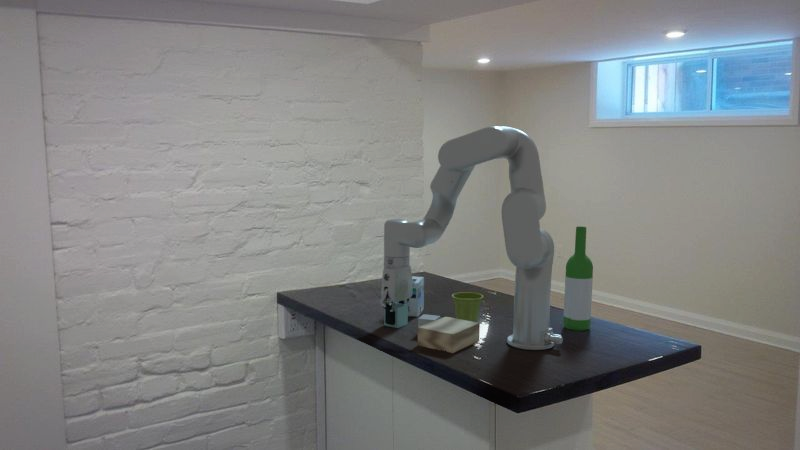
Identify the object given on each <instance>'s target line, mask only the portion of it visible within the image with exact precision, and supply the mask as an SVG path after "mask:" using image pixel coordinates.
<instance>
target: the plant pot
mask: <svg viewBox="0 0 800 450" xmlns="http://www.w3.org/2000/svg"><path fill="white" fill-rule="evenodd" d="M451 298H452V300H453V303H454V310H455V318H456V319H461V320H467V321H472V322H477V323H479V322H478V320H479V316H480V314H479V313H480V307H481V303H482V300H483V298H484V295H483V294H481V293H477V292H468V291H467V292H465V291H464V292H455V293H453V294H451Z"/></svg>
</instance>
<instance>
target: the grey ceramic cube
mask: <svg viewBox="0 0 800 450" xmlns="http://www.w3.org/2000/svg"><path fill="white" fill-rule="evenodd" d="M440 318H441V315H434V314H424V313H423V314H422V315H421V316H420V317H419V316H418V317H417V328H418V327H420V326H422V325H425V324H427V323H430V322H433V321H435V320H438V319H440Z"/></svg>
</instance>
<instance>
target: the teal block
mask: <svg viewBox="0 0 800 450" xmlns="http://www.w3.org/2000/svg"><path fill="white" fill-rule="evenodd" d="M389 305H390V306H391V303H390V302H389ZM383 310H384V309H383ZM394 312H395V325H390V324H386V323H385V310H384V311H383V325H384V326H386V327H391V328H395V329H400V328H402V327H406V326H407V325H408V324H409V321H408V319H409V316H408V305H406V304H401V303H398V302H395V307H394Z"/></svg>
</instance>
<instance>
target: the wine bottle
mask: <svg viewBox="0 0 800 450" xmlns="http://www.w3.org/2000/svg"><path fill="white" fill-rule="evenodd" d="M574 238H575V239H574V241H575V242H574V243H575V244H574V254H573V255H570V257H569V258H568V259H567V261H566V265H565V276H564V277H565V278H564V279H565V280H564V295H563V297H564V298H563V299H564V300H563V321H562V322H563V326H564V328H565V329H567V330H571V331H577V332H581V331H582V332H583V331H588V330H589V329H590V328H591V321H592V320H591V318H592V303H593V301H592V300H593V299H592V298H593V278H594V277H593V276H594V275H593V274H594V267H593V266H594V264H593V262H592V260H591V258H590V257H589V256H587V254H586V252H587V251H586V248H587V245H586V244H587V227H586V226H576V227H575V237H574Z"/></svg>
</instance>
